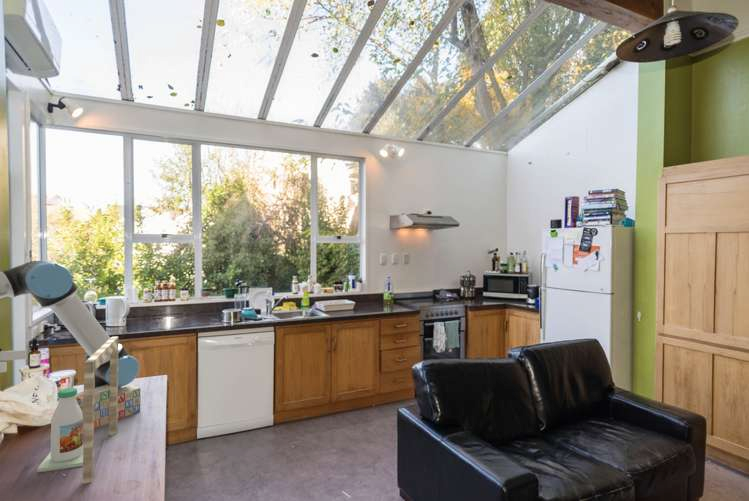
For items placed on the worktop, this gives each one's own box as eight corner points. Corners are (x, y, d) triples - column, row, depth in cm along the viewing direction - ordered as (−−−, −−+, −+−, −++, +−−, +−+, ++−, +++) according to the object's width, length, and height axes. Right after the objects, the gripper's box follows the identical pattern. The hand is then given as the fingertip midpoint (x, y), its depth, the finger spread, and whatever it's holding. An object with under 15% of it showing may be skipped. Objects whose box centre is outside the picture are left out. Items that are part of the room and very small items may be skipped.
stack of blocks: (130, 408, 163) (130, 377, 162) (140, 411, 160) (141, 379, 160) (70, 429, 143) (71, 394, 143) (81, 433, 141) (81, 397, 140)
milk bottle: (46, 465, 119) (47, 396, 118) (55, 452, 126) (55, 387, 126) (79, 460, 122) (79, 392, 122) (85, 447, 129) (86, 384, 129)
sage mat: (51, 453, 127) (51, 450, 127) (93, 448, 131) (93, 444, 131) (37, 472, 117) (37, 469, 117) (83, 465, 121) (83, 462, 121)
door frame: (110, 432, 142) (111, 336, 141) (117, 431, 142) (118, 336, 142) (82, 484, 112) (84, 362, 111) (91, 482, 113) (92, 362, 112)
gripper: (-52, 367, 126) (34, 361, 134) (-112, 395, 103) (-4, 386, 110) (-52, 342, 126) (34, 338, 134) (-112, 365, 103) (-4, 359, 110)
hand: (17, 360), depth 122 cm, fingers open, 13 cm apart
